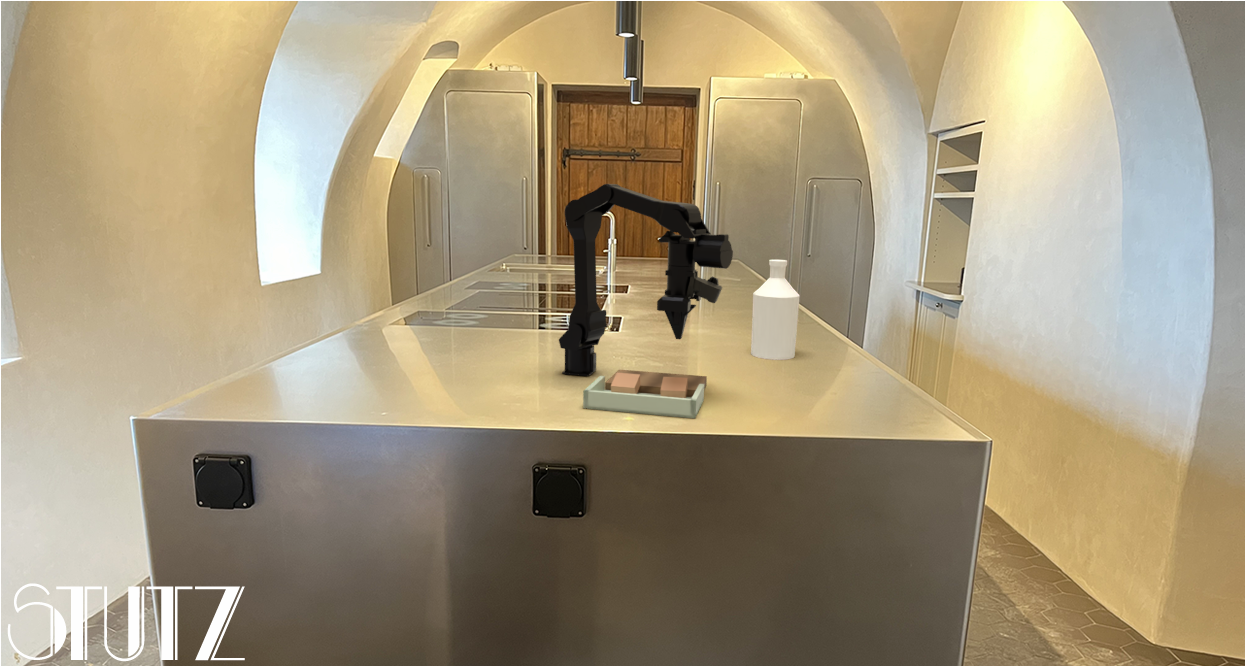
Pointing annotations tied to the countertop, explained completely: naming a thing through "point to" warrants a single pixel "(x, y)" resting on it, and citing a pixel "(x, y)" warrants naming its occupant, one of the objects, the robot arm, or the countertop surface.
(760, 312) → the bottle
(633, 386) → the left tile
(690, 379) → the walnut board
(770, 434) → the countertop surface
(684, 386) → the right tile
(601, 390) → the sage tray
